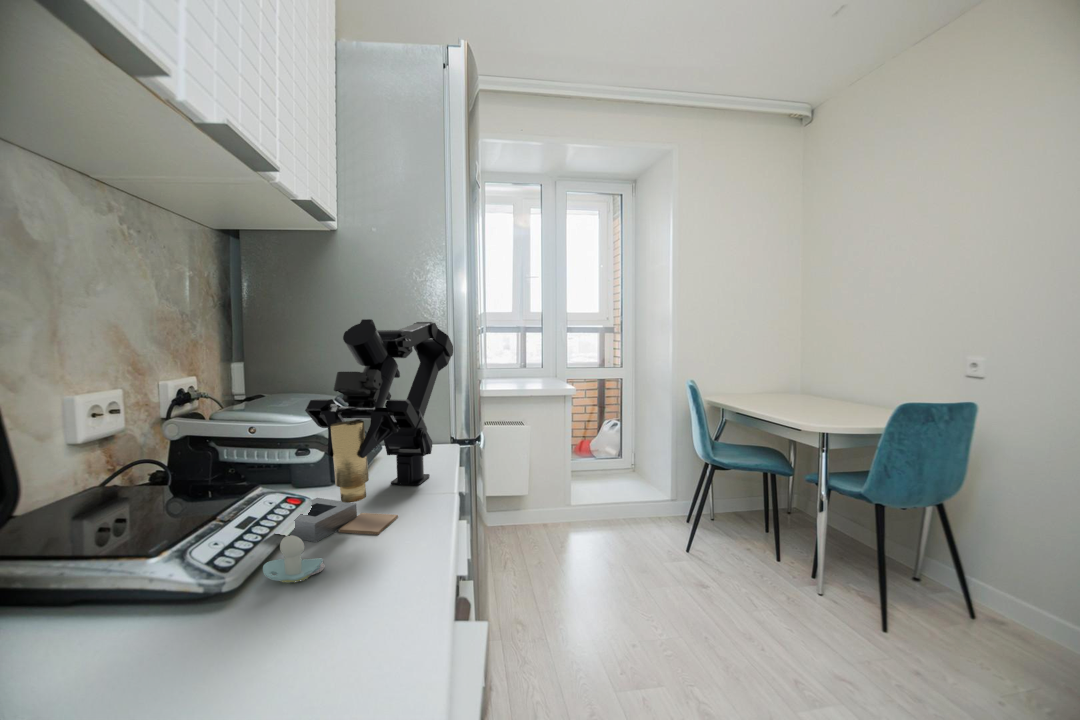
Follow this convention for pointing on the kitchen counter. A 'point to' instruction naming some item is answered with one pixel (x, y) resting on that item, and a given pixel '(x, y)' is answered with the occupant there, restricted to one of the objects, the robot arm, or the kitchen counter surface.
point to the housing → (323, 519)
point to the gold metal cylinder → (349, 460)
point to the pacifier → (292, 562)
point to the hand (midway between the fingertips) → (345, 456)
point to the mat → (368, 523)
